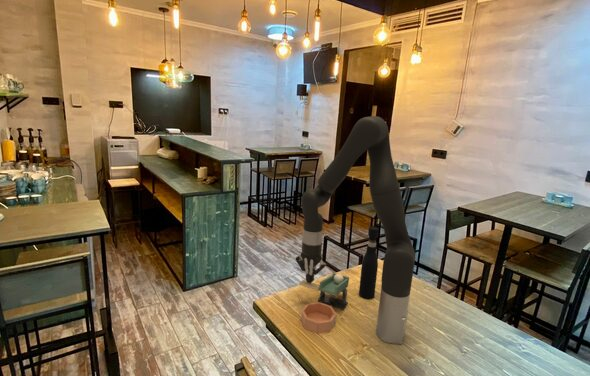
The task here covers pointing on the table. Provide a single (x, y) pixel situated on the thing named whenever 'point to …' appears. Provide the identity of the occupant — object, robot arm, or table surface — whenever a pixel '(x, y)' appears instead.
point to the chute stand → (334, 300)
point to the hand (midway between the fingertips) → (309, 282)
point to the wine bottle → (369, 267)
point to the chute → (328, 285)
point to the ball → (338, 278)
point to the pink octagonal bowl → (318, 317)
